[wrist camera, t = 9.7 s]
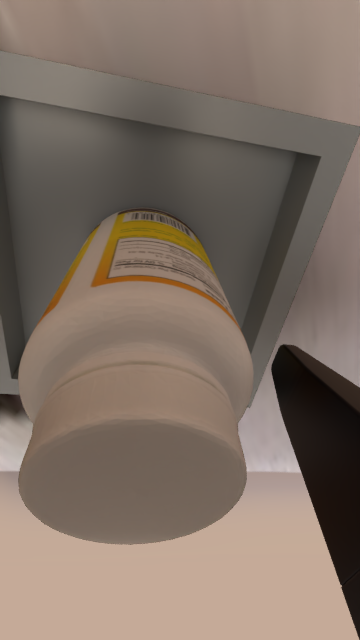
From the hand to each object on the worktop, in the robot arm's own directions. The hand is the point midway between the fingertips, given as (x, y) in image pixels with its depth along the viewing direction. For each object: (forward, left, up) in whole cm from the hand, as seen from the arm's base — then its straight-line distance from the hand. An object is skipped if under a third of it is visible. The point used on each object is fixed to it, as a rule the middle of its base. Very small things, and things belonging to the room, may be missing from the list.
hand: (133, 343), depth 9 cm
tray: (0, 0, -6) cm, 6 cm away
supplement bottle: (0, 0, -6) cm, 6 cm away
